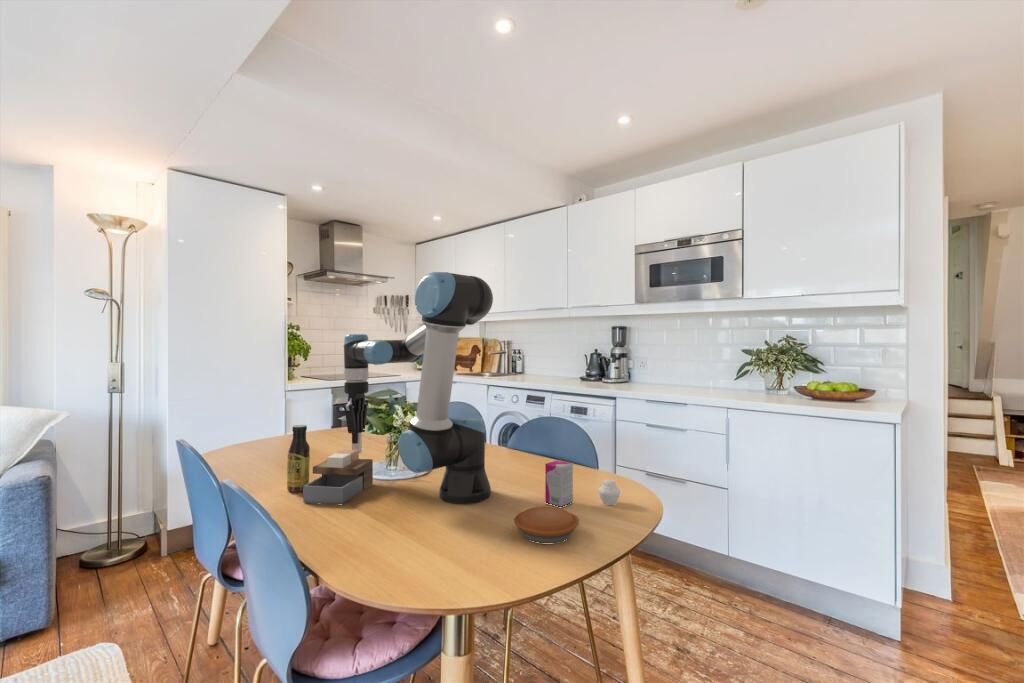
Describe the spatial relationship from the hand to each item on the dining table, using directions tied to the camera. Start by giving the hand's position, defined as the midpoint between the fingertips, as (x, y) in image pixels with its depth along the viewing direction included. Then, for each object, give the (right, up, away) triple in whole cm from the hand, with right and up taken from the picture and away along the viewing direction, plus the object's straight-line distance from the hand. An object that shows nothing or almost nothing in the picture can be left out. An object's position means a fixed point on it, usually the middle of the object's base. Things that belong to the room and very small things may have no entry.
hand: (356, 452), depth 155 cm
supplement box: (+64, -10, -22) cm, 69 cm away
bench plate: (-1, -9, -8) cm, 13 cm away
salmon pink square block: (-1, -1, -6) cm, 6 cm away
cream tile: (-2, -1, -11) cm, 11 cm away
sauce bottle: (-15, -10, -9) cm, 20 cm away
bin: (-1, -9, -16) cm, 19 cm away
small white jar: (+79, -9, -22) cm, 82 cm away
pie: (+59, -10, -42) cm, 74 cm away
